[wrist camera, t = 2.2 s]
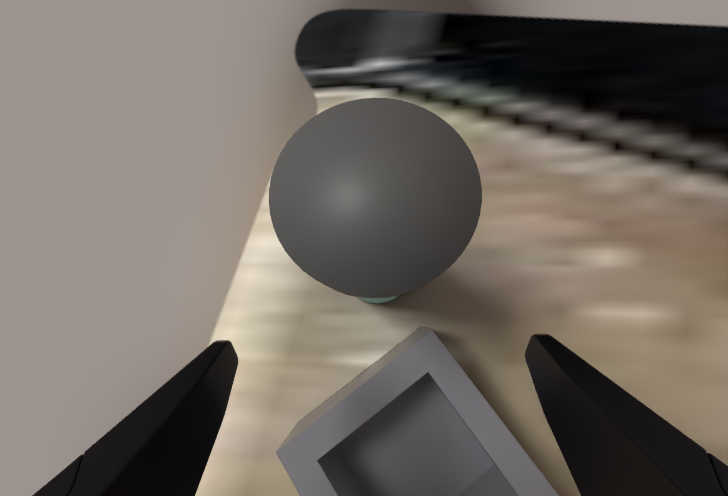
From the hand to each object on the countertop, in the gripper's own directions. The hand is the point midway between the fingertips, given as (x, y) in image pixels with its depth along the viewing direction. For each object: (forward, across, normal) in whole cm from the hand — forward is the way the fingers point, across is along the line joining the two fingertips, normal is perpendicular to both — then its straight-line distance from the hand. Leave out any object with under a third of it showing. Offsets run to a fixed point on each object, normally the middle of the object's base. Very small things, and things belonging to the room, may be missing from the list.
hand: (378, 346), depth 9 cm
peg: (+11, 0, +5) cm, 12 cm away
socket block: (+3, -2, +13) cm, 13 cm away
